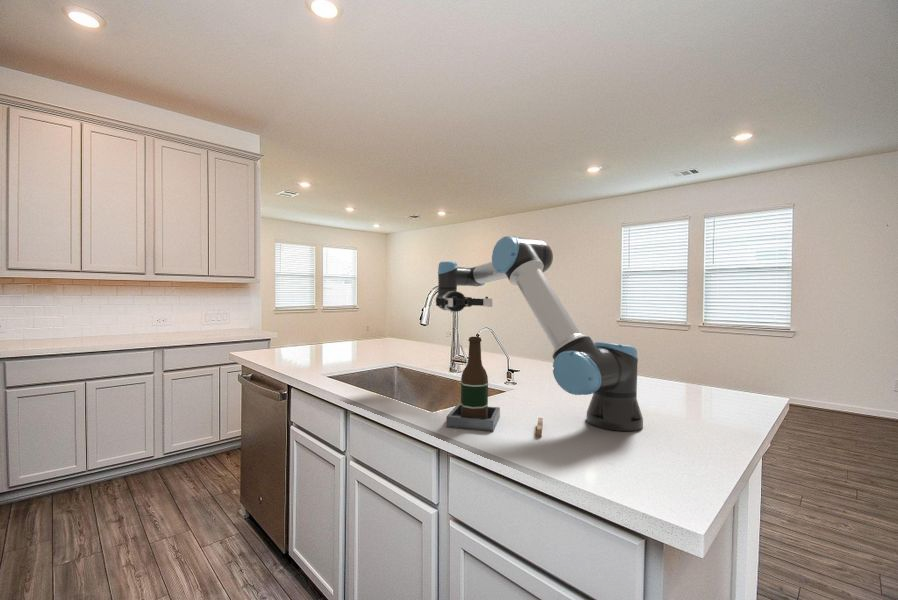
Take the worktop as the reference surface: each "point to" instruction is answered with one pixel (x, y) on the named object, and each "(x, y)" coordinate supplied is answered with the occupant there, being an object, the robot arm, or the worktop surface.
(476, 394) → the beer bottle
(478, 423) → the keeper
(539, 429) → the jamb strip
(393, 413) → the worktop surface
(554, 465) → the worktop surface
